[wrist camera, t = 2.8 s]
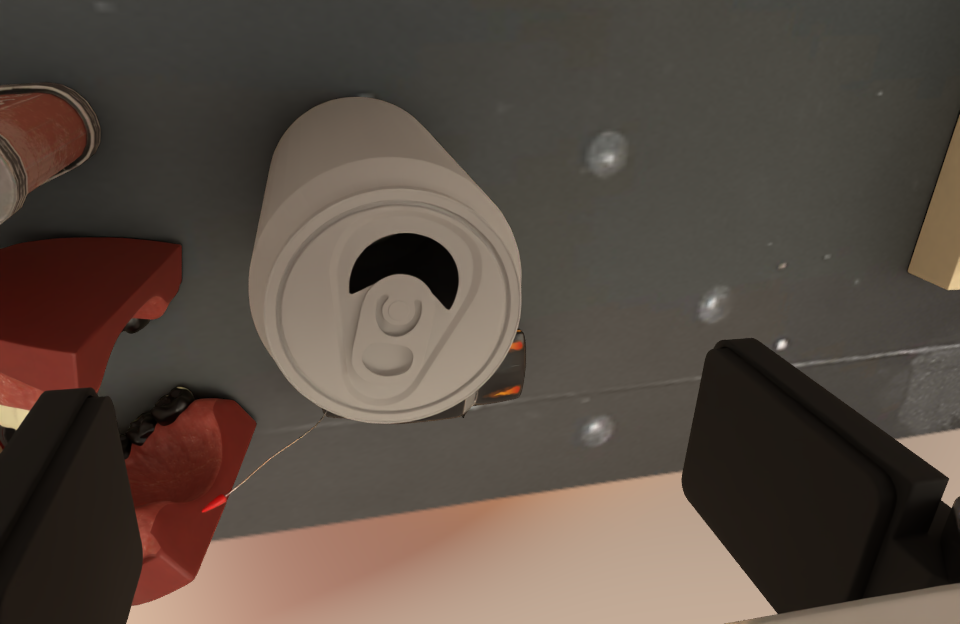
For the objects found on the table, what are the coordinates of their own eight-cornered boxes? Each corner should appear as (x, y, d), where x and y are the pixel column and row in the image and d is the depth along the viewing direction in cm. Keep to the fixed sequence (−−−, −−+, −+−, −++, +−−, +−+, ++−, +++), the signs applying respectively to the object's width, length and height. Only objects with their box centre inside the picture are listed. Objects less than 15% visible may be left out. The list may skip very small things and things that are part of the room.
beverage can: (460, 118, 25) (576, 205, 14) (420, 275, 27) (495, 451, 17) (285, 72, 23) (269, 134, 12) (257, 246, 25) (223, 426, 15)
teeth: (-211, 340, 16) (34, 655, 22) (30, 289, 16) (219, 624, 21) (0, 225, 24) (143, 480, 29) (168, 189, 23) (282, 454, 29)
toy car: (512, 384, 30) (575, 499, 23) (232, 413, 28) (208, 553, 21) (516, 306, 29) (585, 405, 22) (220, 329, 26) (189, 450, 19)
